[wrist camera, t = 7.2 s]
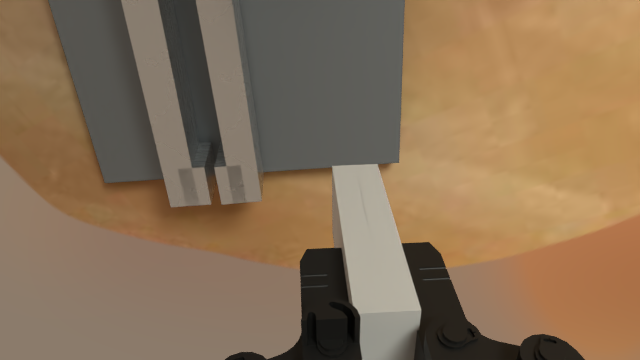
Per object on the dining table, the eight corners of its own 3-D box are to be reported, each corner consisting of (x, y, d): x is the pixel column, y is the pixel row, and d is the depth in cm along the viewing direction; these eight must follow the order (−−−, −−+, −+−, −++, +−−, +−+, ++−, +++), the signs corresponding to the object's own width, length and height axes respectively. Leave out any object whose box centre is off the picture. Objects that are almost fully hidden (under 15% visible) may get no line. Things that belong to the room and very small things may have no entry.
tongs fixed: (102, -177, 22) (65, -186, 19) (179, -182, 22) (157, -191, 19) (180, 177, 32) (166, 219, 28) (234, 173, 32) (227, 215, 28)
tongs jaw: (174, -104, 24) (160, -101, 21) (223, -108, 24) (216, -105, 21) (226, 176, 31) (221, 204, 29) (264, 173, 31) (261, 200, 29)
